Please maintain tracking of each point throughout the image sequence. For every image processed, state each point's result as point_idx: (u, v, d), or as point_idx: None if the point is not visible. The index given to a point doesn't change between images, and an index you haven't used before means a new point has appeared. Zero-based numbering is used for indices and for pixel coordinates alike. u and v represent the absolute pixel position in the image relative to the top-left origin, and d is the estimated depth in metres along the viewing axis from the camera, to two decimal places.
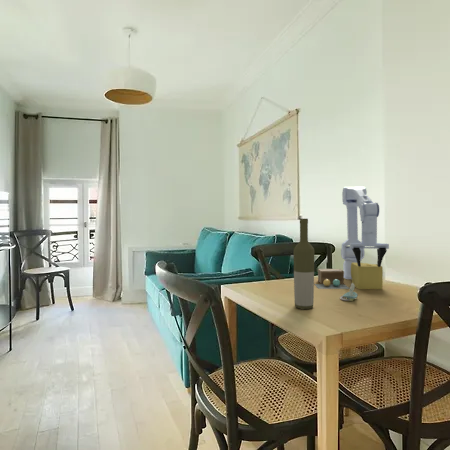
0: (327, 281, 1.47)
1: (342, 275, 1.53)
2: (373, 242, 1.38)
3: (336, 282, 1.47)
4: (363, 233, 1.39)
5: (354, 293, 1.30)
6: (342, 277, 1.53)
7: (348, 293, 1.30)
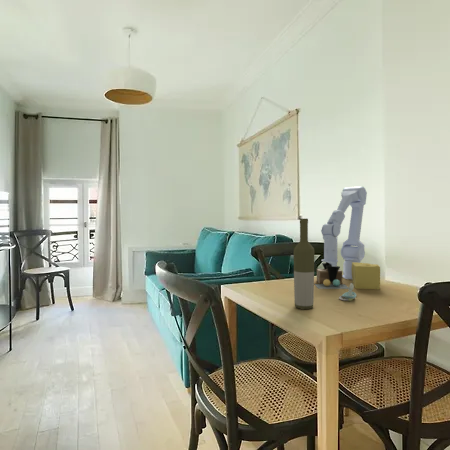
0: (327, 281, 1.47)
1: (341, 275, 1.54)
2: (325, 258, 1.55)
3: (336, 282, 1.47)
4: None
5: (353, 293, 1.30)
6: (340, 277, 1.53)
7: (347, 293, 1.30)
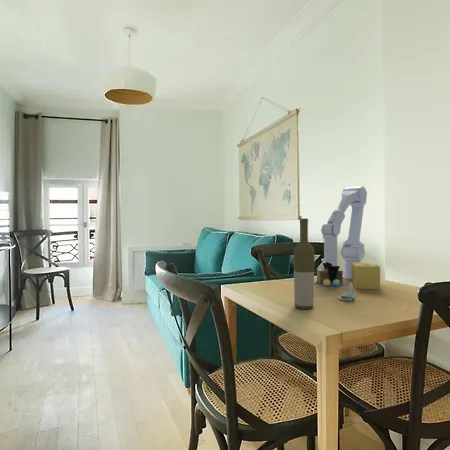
0: (327, 281, 1.47)
1: (341, 275, 1.53)
2: (325, 258, 1.55)
3: (336, 282, 1.47)
4: None
5: (352, 293, 1.30)
6: (341, 276, 1.53)
7: (346, 293, 1.30)
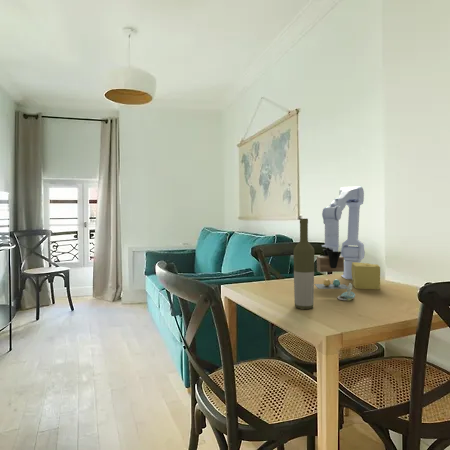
0: (327, 281, 1.47)
1: (342, 262, 1.45)
2: (325, 243, 1.47)
3: (336, 282, 1.47)
4: None
5: (352, 293, 1.30)
6: (342, 263, 1.45)
7: (346, 293, 1.31)
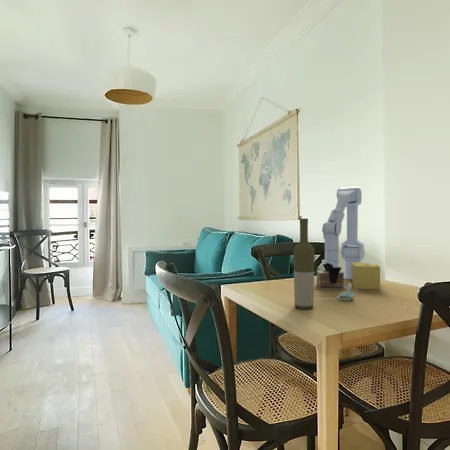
0: None
1: (342, 277, 1.45)
2: (325, 258, 1.47)
3: None
4: None
5: (351, 293, 1.30)
6: (342, 279, 1.45)
7: (345, 293, 1.31)
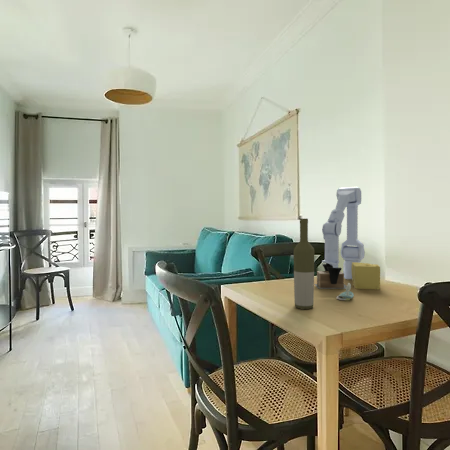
0: None
1: (342, 278, 1.45)
2: (325, 259, 1.47)
3: None
4: None
5: (350, 293, 1.30)
6: (342, 280, 1.45)
7: (344, 293, 1.31)
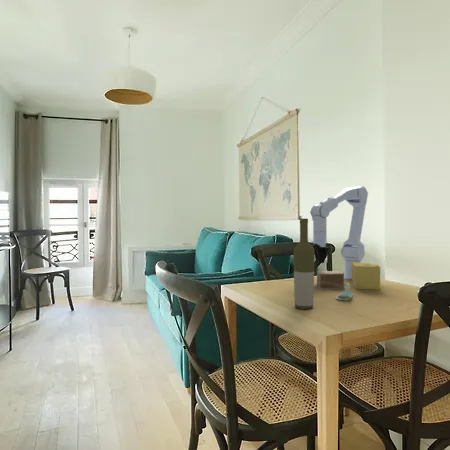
0: None
1: (342, 278, 1.45)
2: (314, 239, 1.54)
3: None
4: None
5: (350, 293, 1.30)
6: (342, 280, 1.45)
7: (344, 293, 1.31)
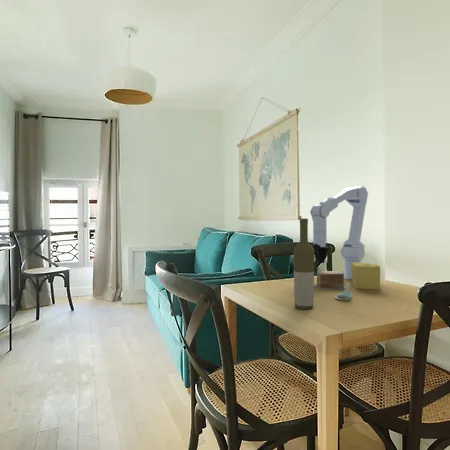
0: None
1: (342, 278, 1.45)
2: (314, 239, 1.54)
3: None
4: None
5: (349, 292, 1.30)
6: (342, 280, 1.45)
7: (343, 293, 1.31)
